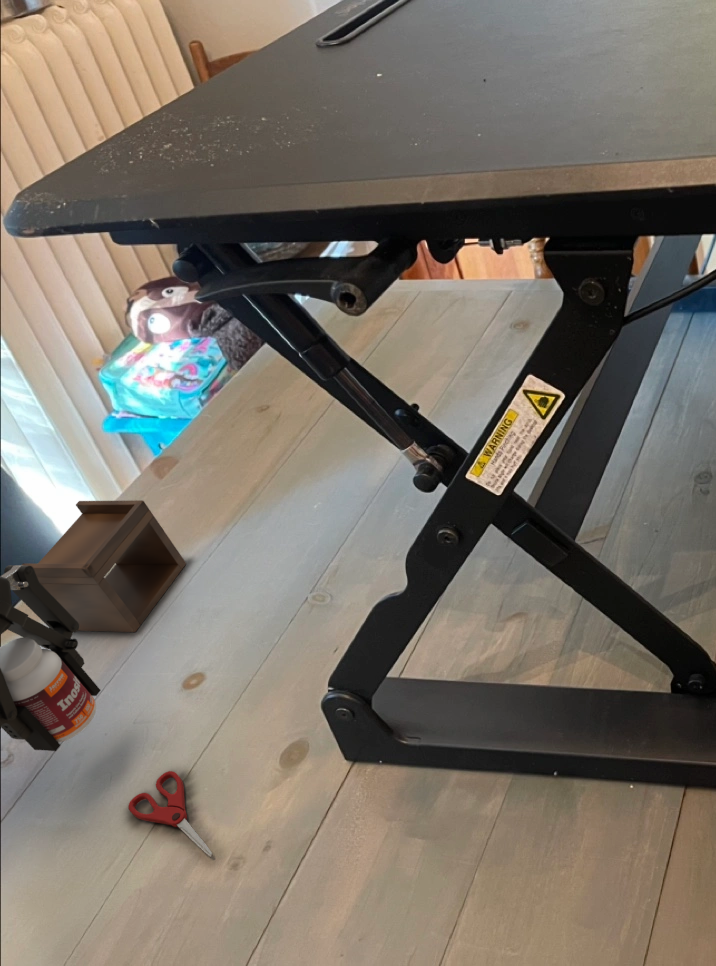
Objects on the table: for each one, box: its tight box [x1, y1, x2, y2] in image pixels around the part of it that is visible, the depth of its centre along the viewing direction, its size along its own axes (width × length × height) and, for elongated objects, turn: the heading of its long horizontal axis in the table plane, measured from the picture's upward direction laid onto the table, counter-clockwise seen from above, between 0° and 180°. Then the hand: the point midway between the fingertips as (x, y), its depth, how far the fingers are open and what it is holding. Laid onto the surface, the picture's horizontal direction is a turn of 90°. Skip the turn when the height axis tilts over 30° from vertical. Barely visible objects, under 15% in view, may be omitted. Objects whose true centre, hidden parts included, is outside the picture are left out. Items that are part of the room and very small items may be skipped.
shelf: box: [21, 499, 187, 633], centre depth 137 cm, size 10×12×12 cm
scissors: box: [128, 770, 213, 858], centre depth 110 cm, size 5×14×1 cm, turn 50°
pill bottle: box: [0, 637, 97, 744], centre depth 110 cm, size 6×6×11 cm
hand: (68, 719), depth 113 cm, fingers closed on pill bottle, 6 cm apart
